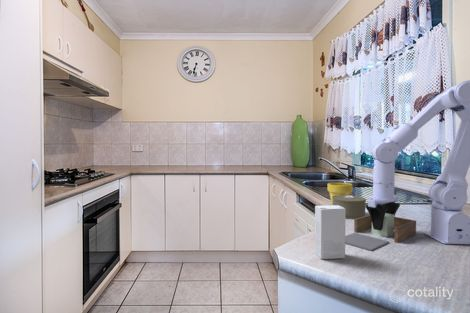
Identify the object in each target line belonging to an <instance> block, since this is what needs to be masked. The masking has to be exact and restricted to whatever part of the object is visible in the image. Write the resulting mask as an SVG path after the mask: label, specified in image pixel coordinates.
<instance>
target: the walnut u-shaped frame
mask: <svg viewBox="0 0 470 313" xmlns="http://www.w3.org/2000/svg"><path fill="white" fill-rule="evenodd" d="M353 220H354V223H353V224H354V226H353V233H359V232H362V231H364V230H368V229H372V220H371V217H370V214H365V216H363V217H360V218H356V219H353ZM416 234H417V220H414V219H413V220H412V219H409V218H403V217H398V216H394V234H393V236H394V238H393V239H394V243H400V242H401V241H403V240H406V239H408V238H410V237H412V236H415V235H416Z"/></svg>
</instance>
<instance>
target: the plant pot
mask: <svg viewBox="0 0 470 313" xmlns="http://www.w3.org/2000/svg"><path fill="white" fill-rule="evenodd" d="M326 185H327V192H328V194H329V198H330V204H331V205H333V200H332V197H333V196H337V195H350V196H351V194H352V192H353V184H352V183H349V182H328V183H327V184H326Z"/></svg>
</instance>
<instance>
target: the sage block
mask: <svg viewBox="0 0 470 313" xmlns="http://www.w3.org/2000/svg"><path fill="white" fill-rule="evenodd" d="M394 217H395V216H394V215H393V214H388V213H385V216H384V220H383V227H382V230H381V231H380V230H375V229H374V228H373V224H372V227H371V234H373V235H377V236H380V237H384V238H389V237H390V236H392V235H393V236H394V234H395V230H394Z"/></svg>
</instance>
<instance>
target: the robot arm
mask: <svg viewBox="0 0 470 313" xmlns="http://www.w3.org/2000/svg"><path fill="white" fill-rule="evenodd" d="M448 109H449V110H451V111H452V112H454V113H455V114H456V115H457V116H458V118H459V119H460V123H459V126H458V129H457V131H456V134H455V138H454V140H453V143H452V146H451V148H450V150H449V154H448V156H447V158H446V161H445V162H446V163H445V165H444V168H443V170H442V172H441V173H440V174H439V175H438V176H437V177H436V180H435V181H434V183H433V184H431V185H430V187H429V189H428V196H429V199H430V200H431V201H432V203H431V204H430V205H431V208H430V231H424V232H423V234H424V235H426V236H428V237H430V238H432V239H434V240H436V241H437V242H440V243H441V244H444V245H445V244H446V245H447V244H448V245H449V244H450V245H470V217H469V216H468V214H466V213H465V212H464V209H463V207H465V205H467V202H468V194H467V193H468V192H467V190H468V188H469V184H468V182H467V179H466V176H467V174H468V171H469V169H470V79H466V80H463V81H461V82H460V83H458V84H456V85H453V86H448V87H447V88H446V89H444V90H443V91H442V92H441V93H439V94H437V95H436V96H435V97H434V98H433V99H431V101H429V103H427V104H426V105H425V106H424V107H423V108H422V109H421V110H420V111H419V112H418V113H416V115H415V116H414V117H413V118H412V119H411V120H410V121H409V122H407V123H400V124H399V125H398V124H397V125H394V127H393V131H392V132H390V133H389V134H388V135H387V136H386V137H383V138H381V139H380V141H381V143H378V144H376V145H375V146H374V147H373V149H372V151H371V156H372V158H373V170H372V173H373V174H372V177H373V178H372V183H373V184H372V195H369V196H368V198H369V199H368V200H367V204H365V210H367V212H368V215H370V217H371V220H372V224H373V228H374V229H375V230H380V231H381V230H382V227H383V220H384V216H385V213H388V214H393V215H394V217H396V213H397V212H398V209H399V208H400V206H401V204H400V203H398V194H397V195H395V181H396V180H395V178H396V177H395V174H396V173H395V172H396V168H395V160H397V159H398V157H399V153H401V152H402V151H403V150H404V149H405V148H407V147H408V146H409V145H410V144H411V143H412V142H413V141H414V140H416V139H417V138H418V135H419V134H418V133H419V130H420V129H421V128H423V126H426V124H427V123H428V122H430V121H431V120H432V119H433V118H435V117H436V116H437V115H438V114H439V113H441V112H442V111H445V110H448Z"/></svg>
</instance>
